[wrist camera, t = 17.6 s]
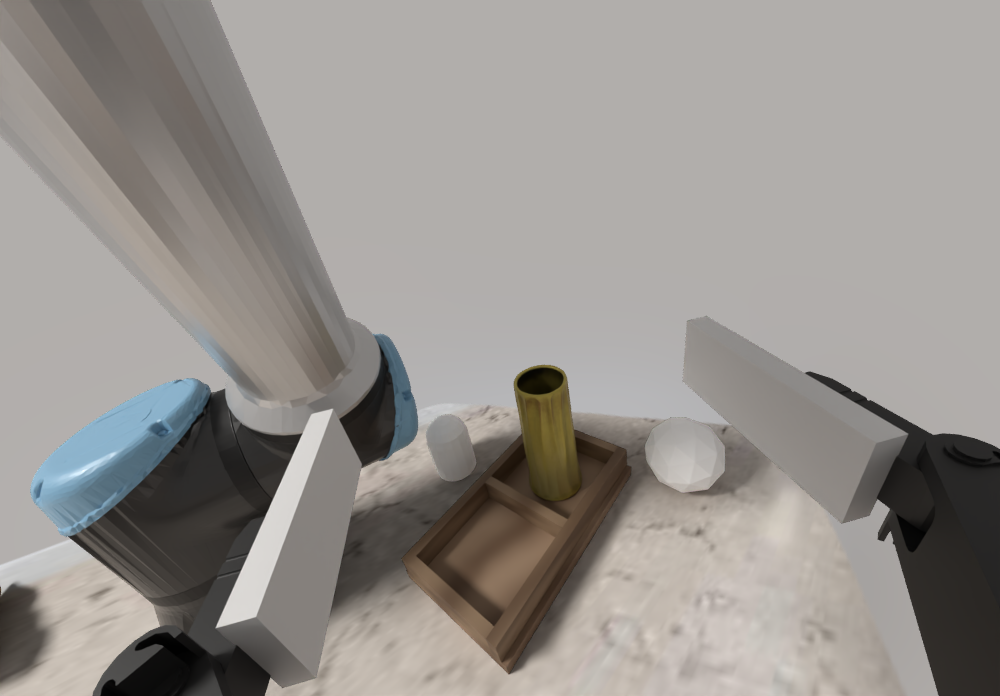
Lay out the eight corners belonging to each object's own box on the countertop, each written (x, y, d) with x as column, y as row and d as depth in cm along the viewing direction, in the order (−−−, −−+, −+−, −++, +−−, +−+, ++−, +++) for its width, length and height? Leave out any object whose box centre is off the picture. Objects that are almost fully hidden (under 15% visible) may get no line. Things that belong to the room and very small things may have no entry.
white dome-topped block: (440, 453, 52) (424, 408, 48) (477, 448, 51) (464, 402, 48) (434, 484, 47) (416, 437, 43) (475, 478, 47) (460, 431, 43)
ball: (662, 484, 44) (639, 419, 46) (737, 473, 41) (710, 403, 42) (654, 509, 38) (627, 433, 39) (742, 499, 34) (710, 415, 35)
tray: (409, 577, 37) (398, 555, 35) (539, 435, 51) (536, 414, 49) (508, 674, 29) (500, 652, 27) (631, 474, 43) (630, 451, 41)
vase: (575, 455, 45) (564, 357, 38) (588, 497, 40) (578, 392, 33) (526, 463, 46) (507, 368, 39) (532, 506, 40) (511, 404, 33)
